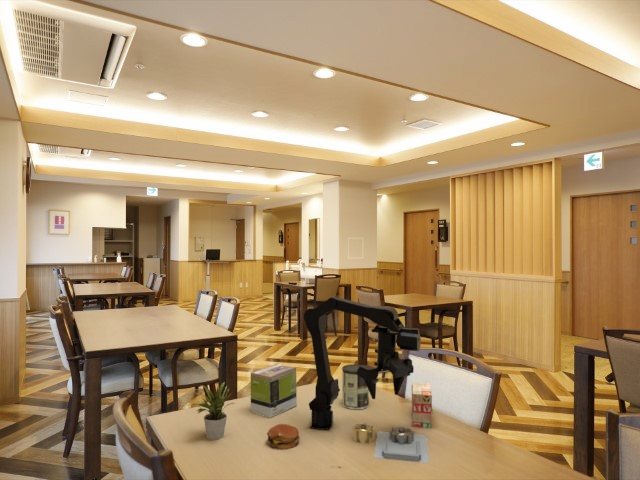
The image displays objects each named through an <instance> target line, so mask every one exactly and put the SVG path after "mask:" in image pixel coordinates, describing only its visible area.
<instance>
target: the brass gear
mask: <svg viewBox="0 0 640 480" xmlns="http://www.w3.org/2000/svg"><path fill="white" fill-rule="evenodd" d="M352 439H353V442H355V443H360V444H361V445H362V444H363V445H364V444H365V443H367V444H371V443H373V441H375V427H374V425H371V424H369V425H368V424H367V423H362V424H359V423H357V424H355V425H353V426H352Z"/></svg>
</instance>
